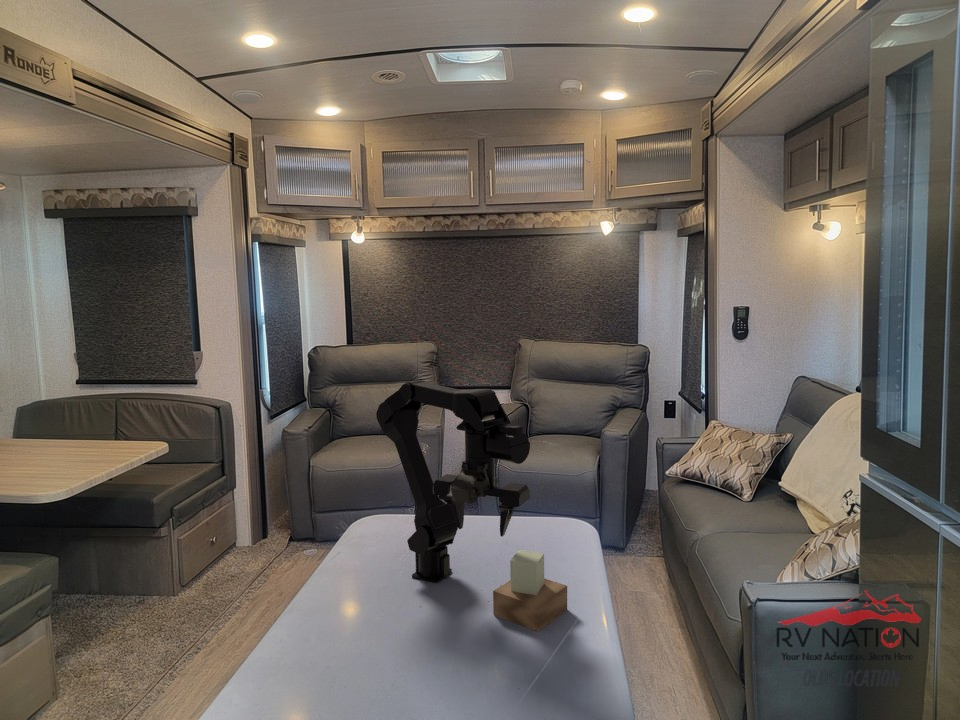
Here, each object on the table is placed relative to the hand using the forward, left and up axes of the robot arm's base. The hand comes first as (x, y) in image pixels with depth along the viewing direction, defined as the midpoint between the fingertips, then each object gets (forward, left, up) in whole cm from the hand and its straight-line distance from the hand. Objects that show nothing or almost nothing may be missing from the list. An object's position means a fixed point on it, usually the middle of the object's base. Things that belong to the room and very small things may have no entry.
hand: (481, 532), depth 129 cm
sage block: (+11, -2, -8) cm, 14 cm away
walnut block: (+11, -2, -13) cm, 18 cm away
